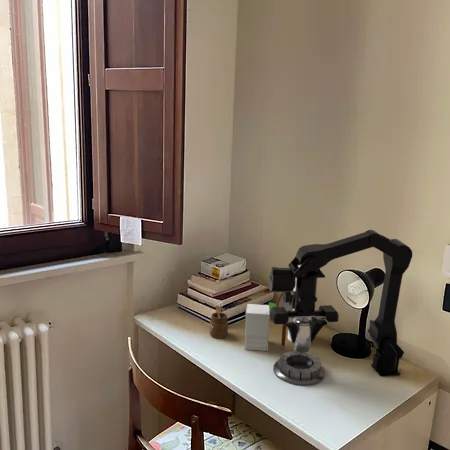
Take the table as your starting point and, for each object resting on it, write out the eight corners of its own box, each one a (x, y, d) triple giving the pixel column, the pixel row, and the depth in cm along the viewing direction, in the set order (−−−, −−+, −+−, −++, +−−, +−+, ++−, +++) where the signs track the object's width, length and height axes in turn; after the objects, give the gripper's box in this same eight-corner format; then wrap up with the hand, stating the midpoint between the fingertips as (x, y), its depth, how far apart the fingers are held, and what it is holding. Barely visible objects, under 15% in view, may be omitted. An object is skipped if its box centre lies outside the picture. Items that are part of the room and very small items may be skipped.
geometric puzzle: (276, 320, 178) (284, 298, 181) (259, 315, 182) (266, 294, 184) (283, 325, 184) (290, 305, 186) (266, 320, 188) (273, 300, 190)
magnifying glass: (275, 353, 160) (279, 293, 155) (271, 351, 161) (275, 291, 156) (293, 345, 166) (298, 287, 161) (289, 343, 167) (294, 285, 162)
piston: (307, 343, 151) (309, 316, 149) (312, 352, 146) (314, 324, 144) (290, 344, 150) (292, 317, 148) (295, 353, 145) (297, 325, 143)
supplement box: (267, 340, 168) (270, 304, 165) (267, 351, 161) (269, 314, 158) (245, 338, 169) (247, 303, 166) (243, 349, 162) (245, 312, 158)
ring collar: (315, 357, 159) (316, 348, 158) (332, 384, 144) (333, 374, 144) (267, 359, 156) (268, 350, 155) (281, 387, 142) (281, 377, 141)
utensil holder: (228, 331, 173) (229, 298, 170) (226, 340, 167) (227, 305, 164) (210, 329, 174) (212, 296, 171) (208, 338, 168) (209, 304, 165)
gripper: (327, 279, 153) (323, 328, 157) (266, 281, 150) (263, 330, 154) (341, 294, 142) (336, 345, 146) (276, 296, 139) (273, 348, 143)
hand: (301, 341), depth 148 cm, fingers closed on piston, 5 cm apart
